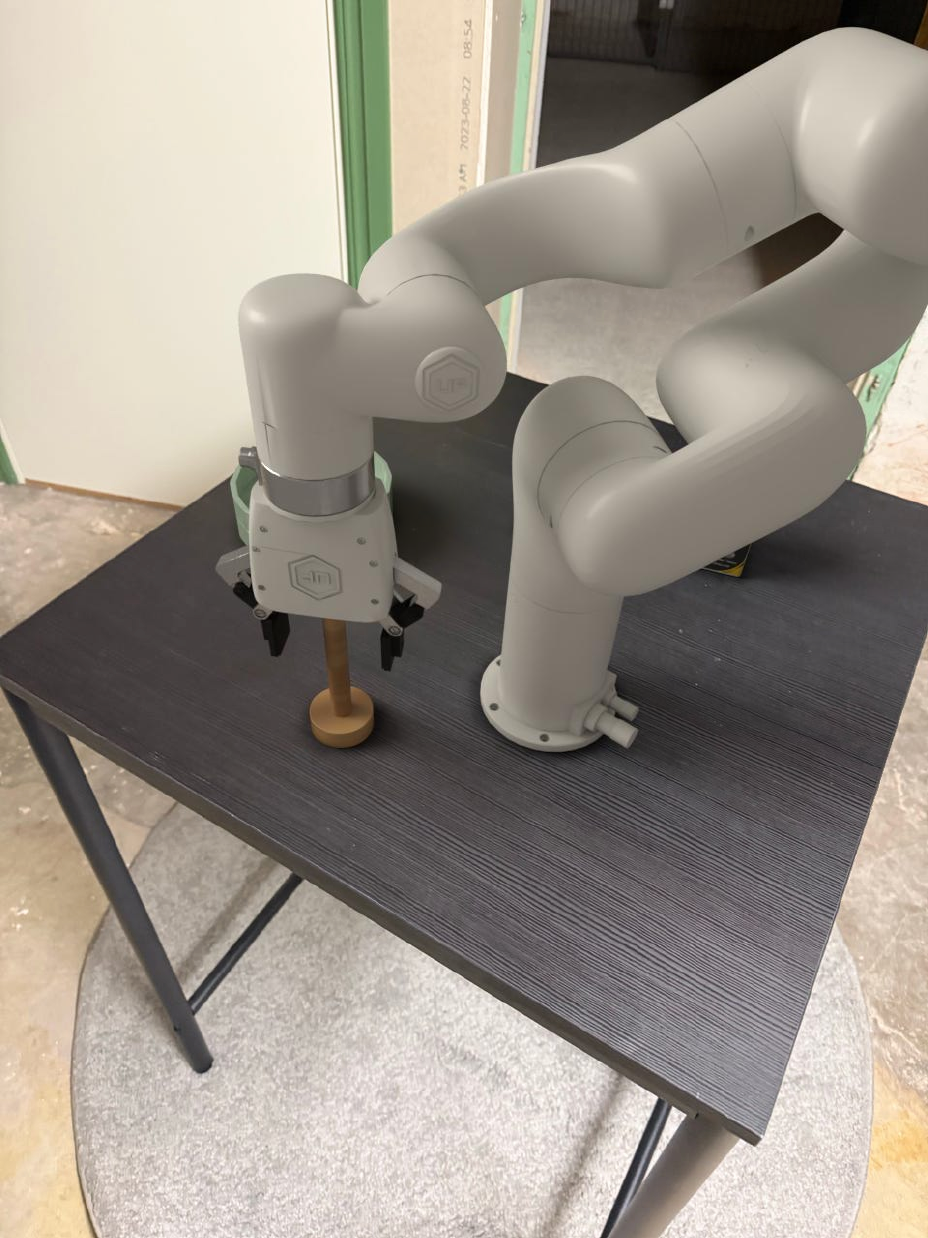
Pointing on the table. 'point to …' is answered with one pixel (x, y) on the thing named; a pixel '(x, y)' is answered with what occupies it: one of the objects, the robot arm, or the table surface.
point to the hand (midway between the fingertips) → (335, 650)
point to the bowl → (248, 478)
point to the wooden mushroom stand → (340, 696)
